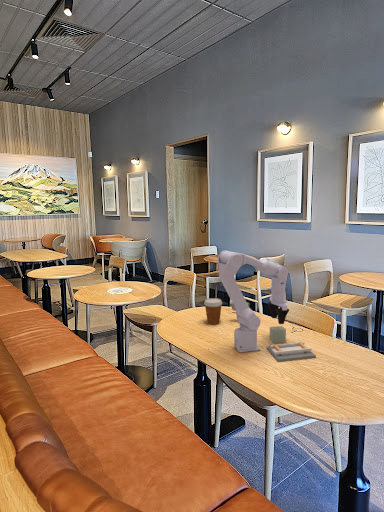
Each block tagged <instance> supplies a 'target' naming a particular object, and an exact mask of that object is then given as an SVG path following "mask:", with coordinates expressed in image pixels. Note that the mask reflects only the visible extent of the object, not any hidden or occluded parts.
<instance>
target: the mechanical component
mask: <svg viewBox="0 0 384 512" xmlns="http://www.w3.org/2000/svg"><path fill="white" fill-rule="evenodd" d="M246 302H247V301H246ZM247 304H248V306H249V307H250V305H251V303H250V302H247ZM229 307H231V309H232V311H234V312H236V308H235V306H234V304H233V303H232V301H231V302H230V303H229Z"/></svg>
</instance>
